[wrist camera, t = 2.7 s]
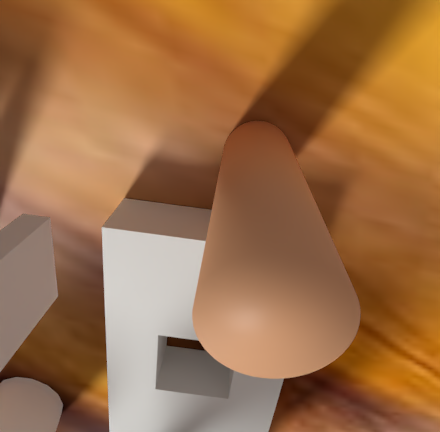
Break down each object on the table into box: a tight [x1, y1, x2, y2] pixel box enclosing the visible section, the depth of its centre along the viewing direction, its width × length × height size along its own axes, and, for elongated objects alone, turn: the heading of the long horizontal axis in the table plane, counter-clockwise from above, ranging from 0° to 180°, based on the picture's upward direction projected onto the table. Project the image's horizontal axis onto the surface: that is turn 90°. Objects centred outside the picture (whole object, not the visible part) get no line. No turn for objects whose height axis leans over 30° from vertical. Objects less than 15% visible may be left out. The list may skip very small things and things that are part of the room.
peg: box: [192, 121, 361, 379], centre depth 15 cm, size 4×4×14 cm
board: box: [102, 198, 284, 432], centre depth 27 cm, size 26×12×4 cm, turn 173°
